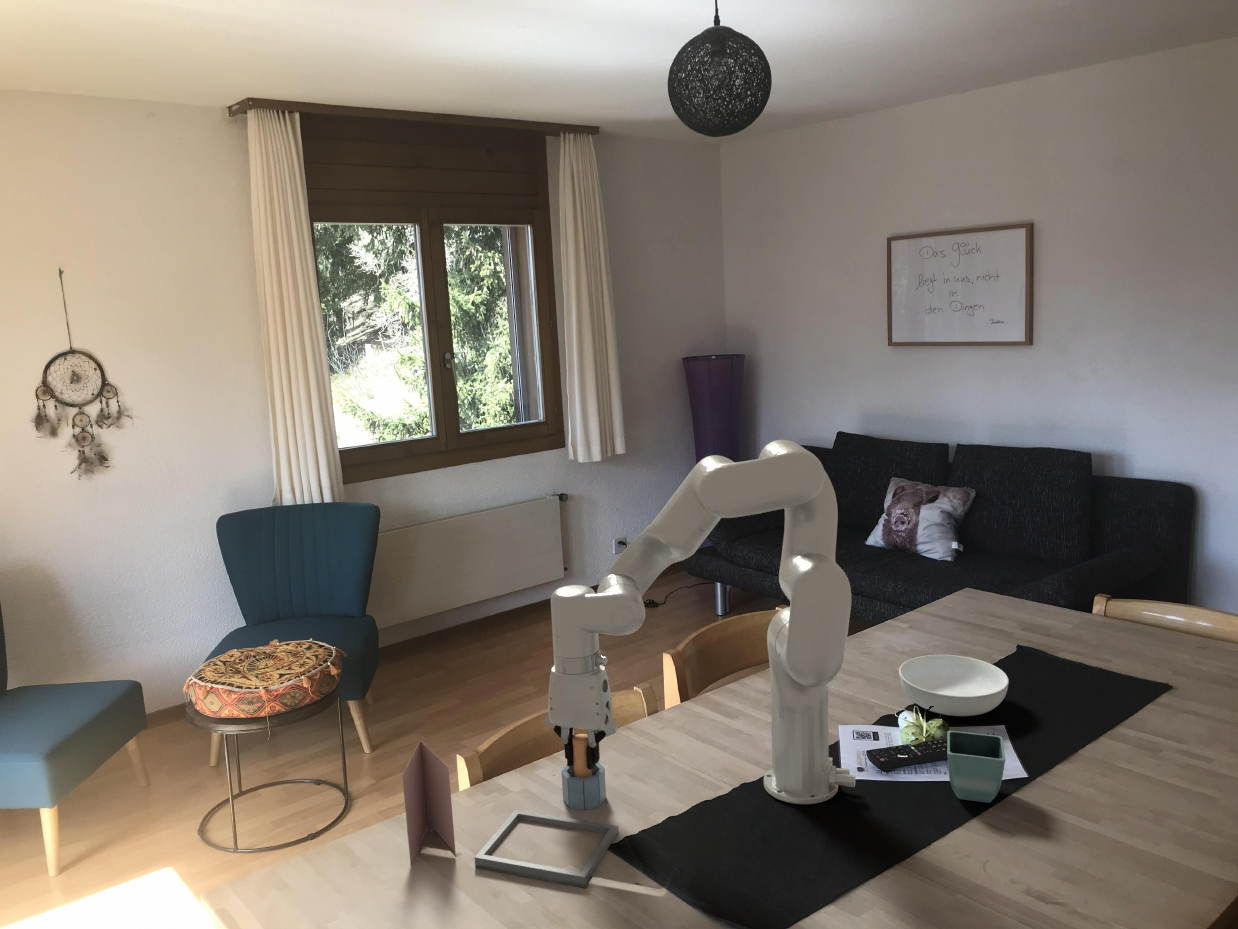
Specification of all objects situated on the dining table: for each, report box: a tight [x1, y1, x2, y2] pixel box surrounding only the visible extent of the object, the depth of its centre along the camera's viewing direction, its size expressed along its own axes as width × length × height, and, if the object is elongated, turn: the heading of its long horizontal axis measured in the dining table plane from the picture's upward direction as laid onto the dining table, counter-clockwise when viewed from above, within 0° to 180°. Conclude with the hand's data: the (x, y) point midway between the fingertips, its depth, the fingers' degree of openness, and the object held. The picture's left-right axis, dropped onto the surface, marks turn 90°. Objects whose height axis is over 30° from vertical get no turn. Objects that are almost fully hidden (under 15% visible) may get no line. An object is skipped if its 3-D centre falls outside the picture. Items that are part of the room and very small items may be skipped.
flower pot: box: [946, 730, 1006, 804], centre depth 157 cm, size 9×9×9 cm
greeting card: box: [401, 740, 457, 866], centre depth 149 cm, size 11×7×15 cm, turn 178°
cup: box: [561, 761, 607, 811], centre depth 160 cm, size 7×7×6 cm
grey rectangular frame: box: [474, 809, 619, 889], centre depth 146 cm, size 18×14×2 cm
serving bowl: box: [898, 654, 1010, 717], centre depth 191 cm, size 21×21×7 cm
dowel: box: [572, 733, 592, 778], centre depth 159 cm, size 3×3×11 cm
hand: (582, 763), depth 159 cm, fingers closed on dowel, 3 cm apart
